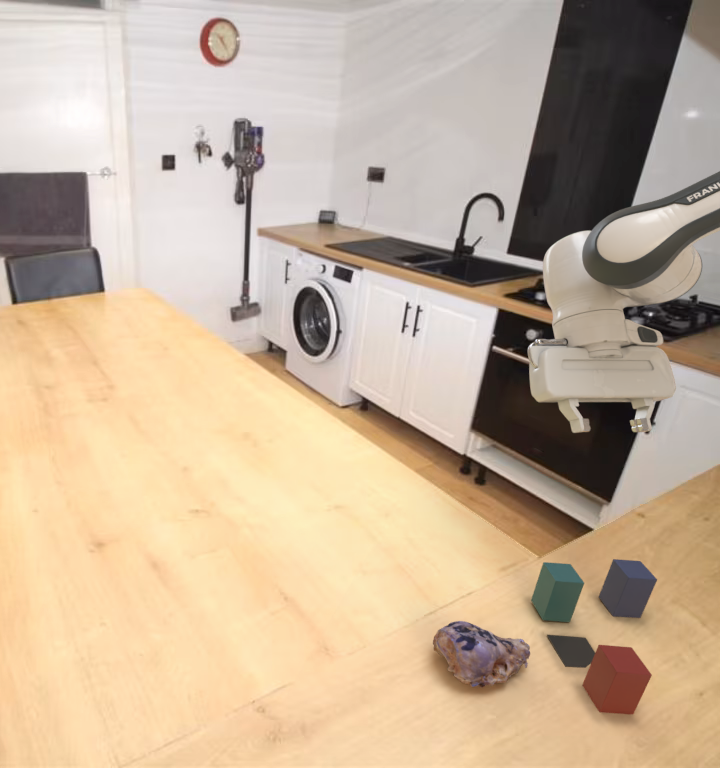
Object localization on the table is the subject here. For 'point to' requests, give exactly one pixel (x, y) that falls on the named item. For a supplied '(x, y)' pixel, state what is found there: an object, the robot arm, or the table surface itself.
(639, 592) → the blue block
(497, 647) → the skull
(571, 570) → the block line
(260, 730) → the table surface
